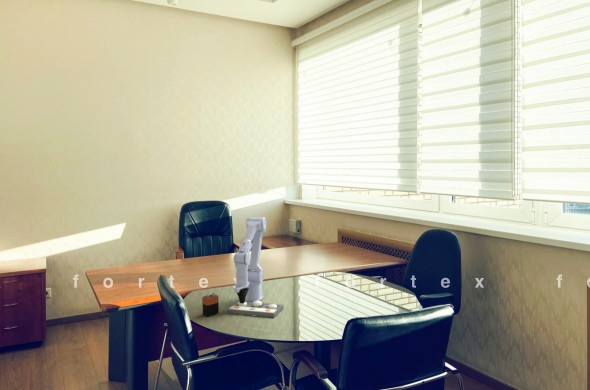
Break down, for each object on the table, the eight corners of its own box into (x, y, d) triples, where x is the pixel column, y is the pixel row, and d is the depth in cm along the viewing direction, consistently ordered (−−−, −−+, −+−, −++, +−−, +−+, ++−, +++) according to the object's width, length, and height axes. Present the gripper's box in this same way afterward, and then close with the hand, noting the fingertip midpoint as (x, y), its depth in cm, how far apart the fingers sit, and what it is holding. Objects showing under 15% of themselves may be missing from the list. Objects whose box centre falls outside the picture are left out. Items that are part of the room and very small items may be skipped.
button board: (239, 304, 245) (238, 300, 245) (283, 308, 239) (283, 304, 238) (227, 313, 232) (227, 308, 232) (274, 317, 225) (274, 312, 225)
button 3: (269, 308, 238) (269, 303, 237) (278, 309, 236) (278, 304, 236) (266, 311, 233) (266, 306, 233) (275, 312, 232) (275, 307, 232)
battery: (202, 315, 229) (201, 294, 229) (213, 312, 234) (213, 292, 233) (207, 317, 226) (207, 296, 226) (219, 314, 231) (218, 293, 230)
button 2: (254, 305, 240) (254, 300, 240) (263, 306, 239) (263, 301, 238) (251, 307, 236) (251, 303, 235) (259, 308, 234) (259, 303, 234)
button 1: (240, 306, 242) (240, 301, 242) (248, 306, 241) (248, 302, 241) (236, 308, 238) (236, 303, 238) (244, 309, 237) (244, 304, 237)
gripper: (240, 272, 246) (240, 298, 247) (228, 279, 232) (228, 306, 234) (253, 273, 244) (253, 299, 245) (241, 280, 230) (242, 307, 232)
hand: (242, 302), depth 239 cm, fingers closed
